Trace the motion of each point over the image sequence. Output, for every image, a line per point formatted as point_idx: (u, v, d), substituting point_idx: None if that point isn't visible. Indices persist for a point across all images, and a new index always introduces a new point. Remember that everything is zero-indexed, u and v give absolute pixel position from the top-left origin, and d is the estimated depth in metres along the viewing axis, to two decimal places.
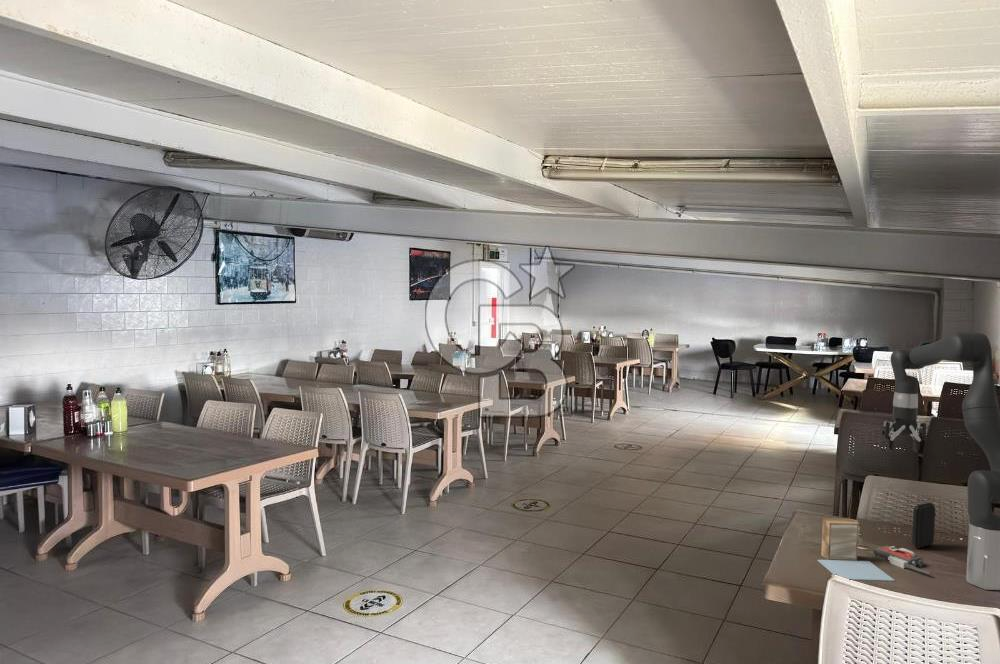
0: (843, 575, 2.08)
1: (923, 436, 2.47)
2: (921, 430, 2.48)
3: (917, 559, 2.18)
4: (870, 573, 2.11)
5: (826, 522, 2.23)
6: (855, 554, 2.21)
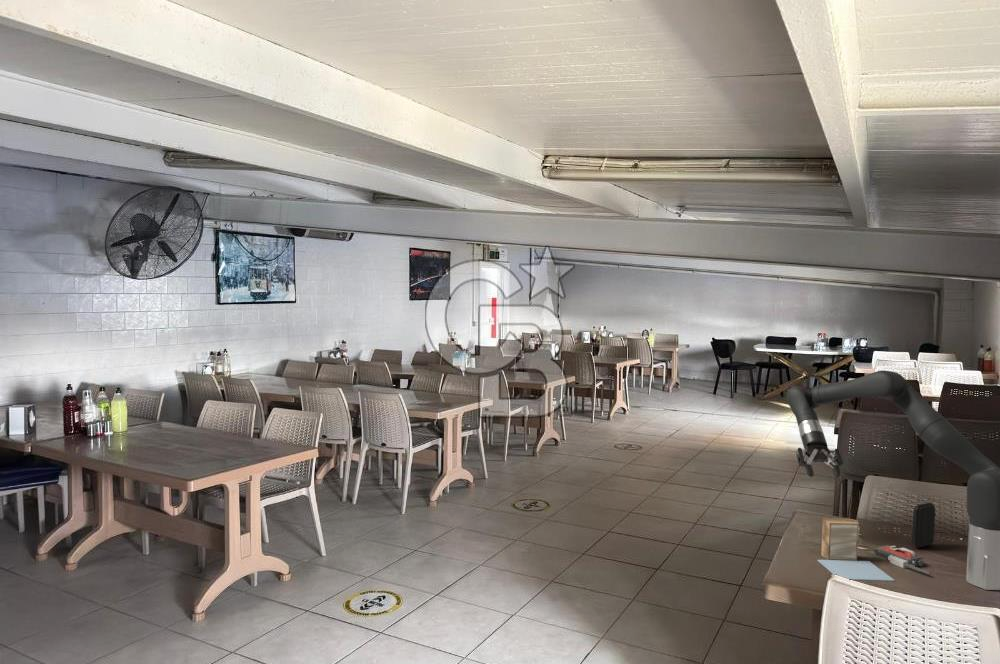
0: (843, 575, 2.08)
1: (839, 460, 2.38)
2: (836, 456, 2.40)
3: (917, 559, 2.18)
4: (870, 573, 2.11)
5: (826, 522, 2.23)
6: (855, 554, 2.21)
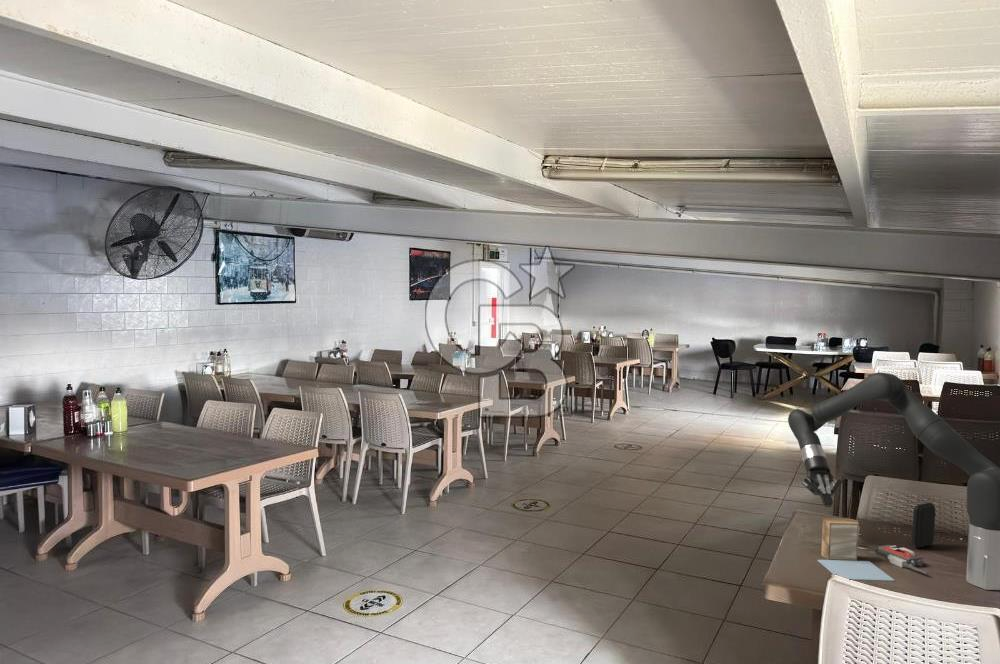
0: (843, 575, 2.08)
1: (833, 489, 2.35)
2: (834, 485, 2.37)
3: (917, 559, 2.18)
4: (870, 573, 2.11)
5: (826, 522, 2.23)
6: (855, 554, 2.21)
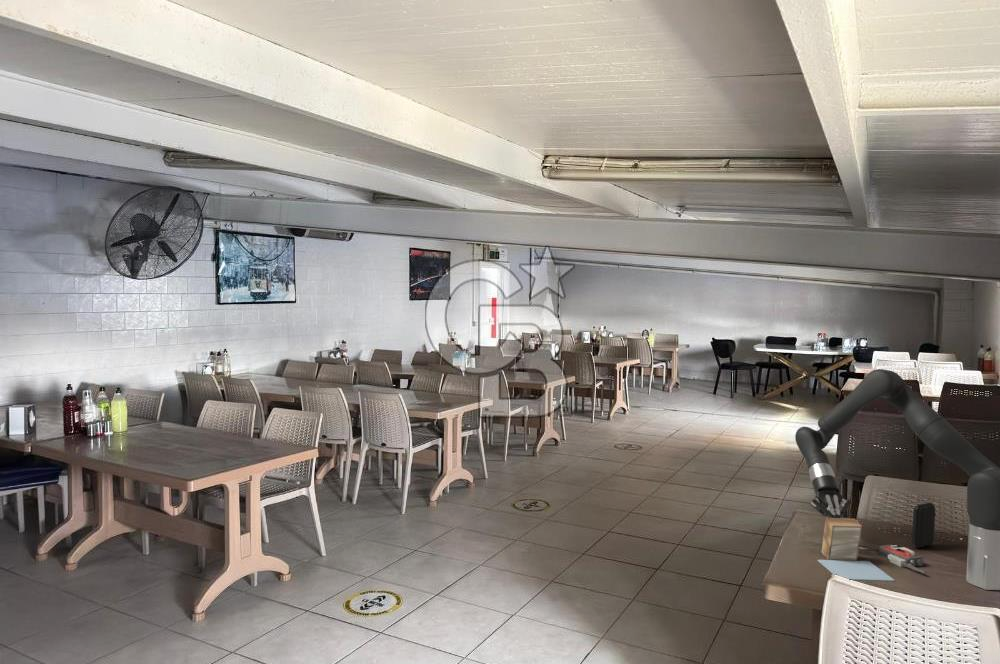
0: (843, 575, 2.08)
1: (843, 510, 2.28)
2: (844, 506, 2.29)
3: (916, 558, 2.18)
4: (870, 573, 2.11)
5: (829, 523, 2.21)
6: (856, 555, 2.21)
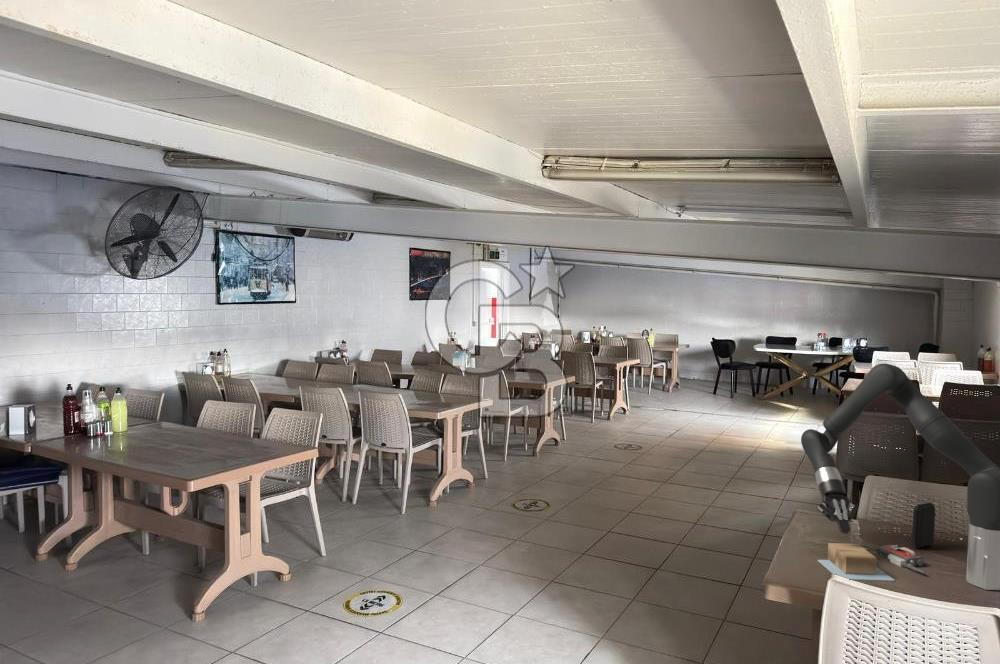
0: (843, 575, 2.08)
1: (850, 514, 2.23)
2: (851, 510, 2.24)
3: (917, 558, 2.18)
4: None
5: (845, 565, 2.10)
6: None
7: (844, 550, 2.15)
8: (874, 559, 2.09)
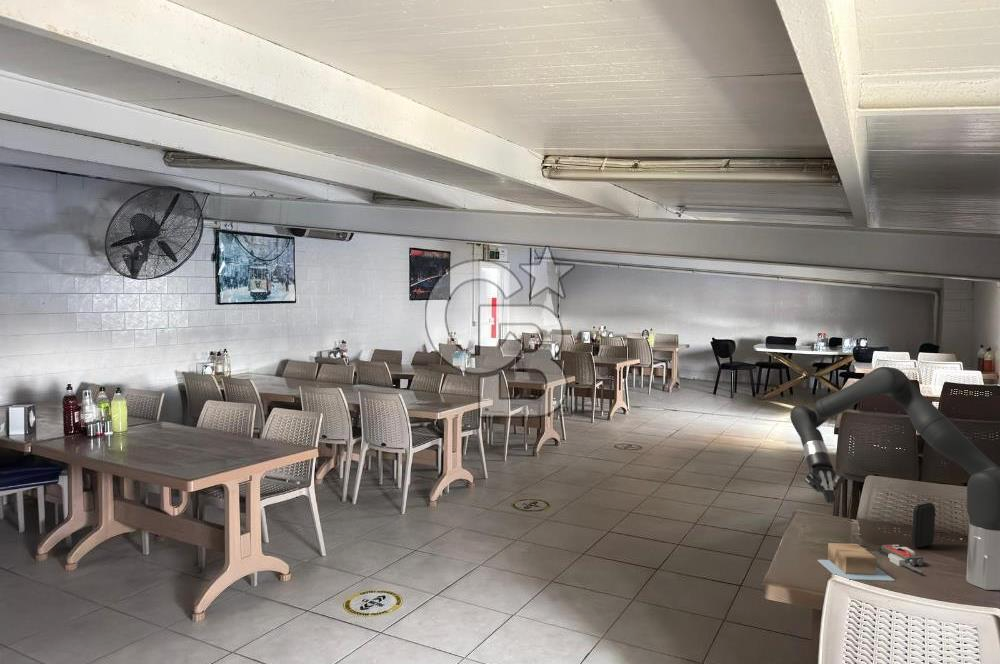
0: (843, 575, 2.08)
1: (836, 485, 2.33)
2: (837, 481, 2.34)
3: (916, 558, 2.19)
4: None
5: (845, 565, 2.10)
6: None
7: (844, 550, 2.15)
8: (874, 559, 2.09)
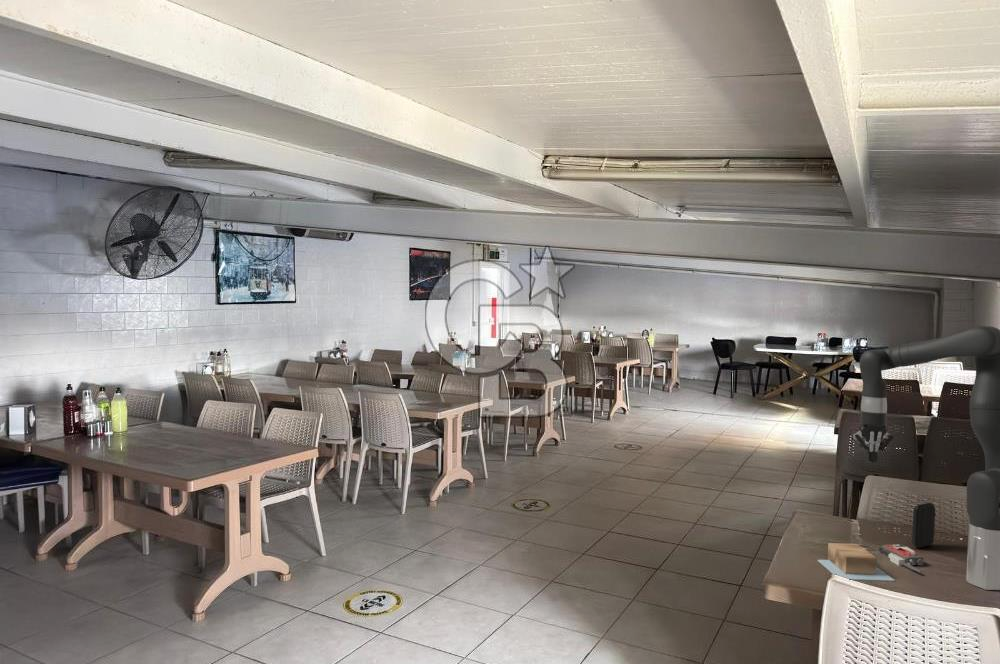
0: (843, 575, 2.08)
1: (882, 446, 2.31)
2: (884, 440, 2.31)
3: (917, 558, 2.19)
4: None
5: (845, 565, 2.10)
6: None
7: (844, 550, 2.15)
8: (874, 559, 2.09)
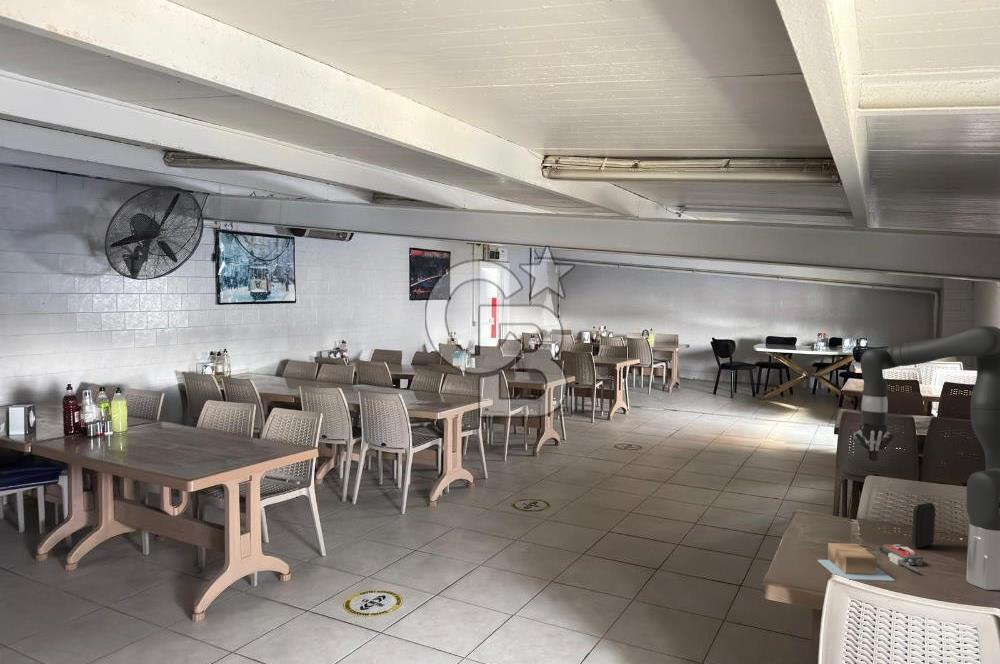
0: (843, 575, 2.08)
1: (883, 445, 2.31)
2: (885, 439, 2.31)
3: (916, 558, 2.19)
4: None
5: (845, 565, 2.10)
6: None
7: (844, 550, 2.15)
8: (874, 559, 2.09)
